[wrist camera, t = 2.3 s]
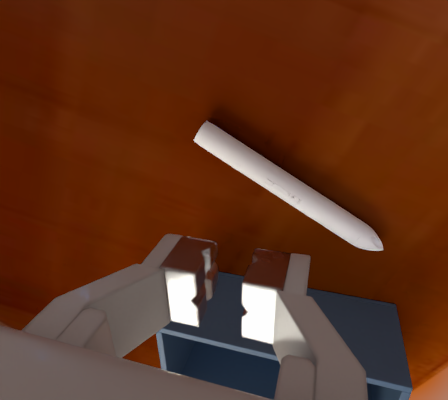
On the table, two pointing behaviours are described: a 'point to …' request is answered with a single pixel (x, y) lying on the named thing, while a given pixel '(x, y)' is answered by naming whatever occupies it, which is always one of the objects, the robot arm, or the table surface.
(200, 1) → the table surface
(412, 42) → the table surface
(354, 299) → the blue box
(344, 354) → the robot arm
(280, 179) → the marker
